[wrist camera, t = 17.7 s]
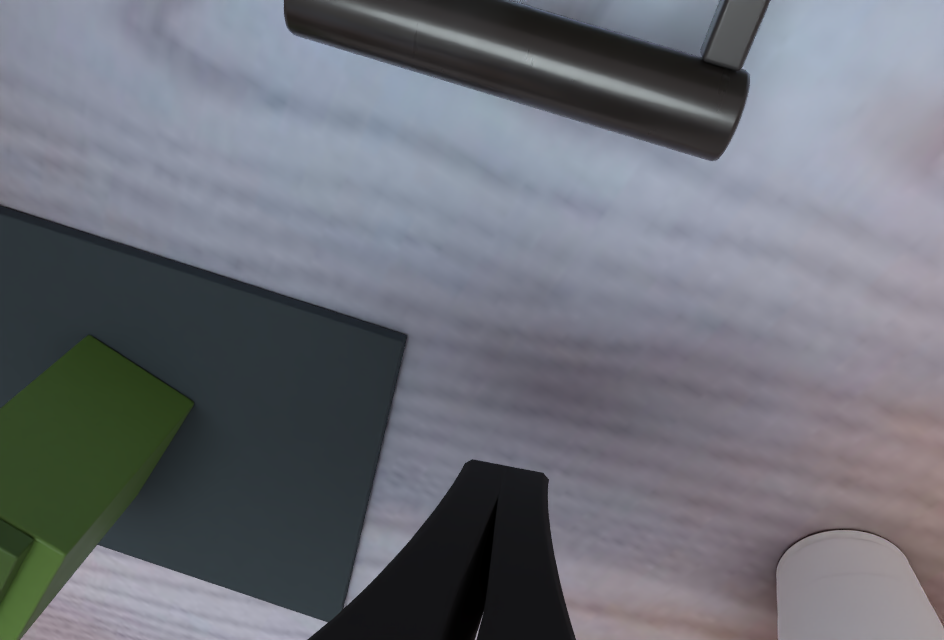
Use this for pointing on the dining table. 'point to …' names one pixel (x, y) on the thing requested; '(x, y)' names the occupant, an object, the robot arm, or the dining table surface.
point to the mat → (217, 407)
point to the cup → (851, 591)
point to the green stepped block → (73, 468)
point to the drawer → (557, 62)
